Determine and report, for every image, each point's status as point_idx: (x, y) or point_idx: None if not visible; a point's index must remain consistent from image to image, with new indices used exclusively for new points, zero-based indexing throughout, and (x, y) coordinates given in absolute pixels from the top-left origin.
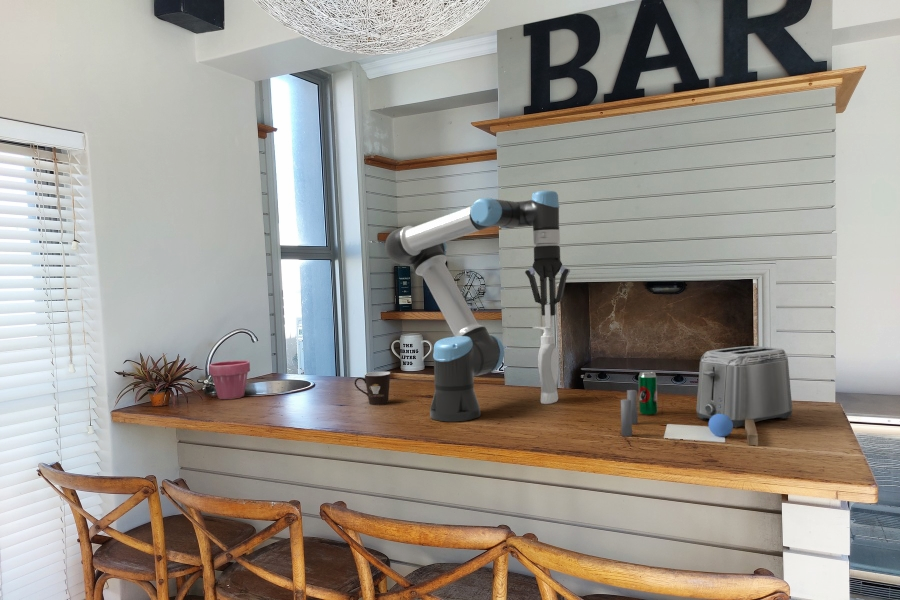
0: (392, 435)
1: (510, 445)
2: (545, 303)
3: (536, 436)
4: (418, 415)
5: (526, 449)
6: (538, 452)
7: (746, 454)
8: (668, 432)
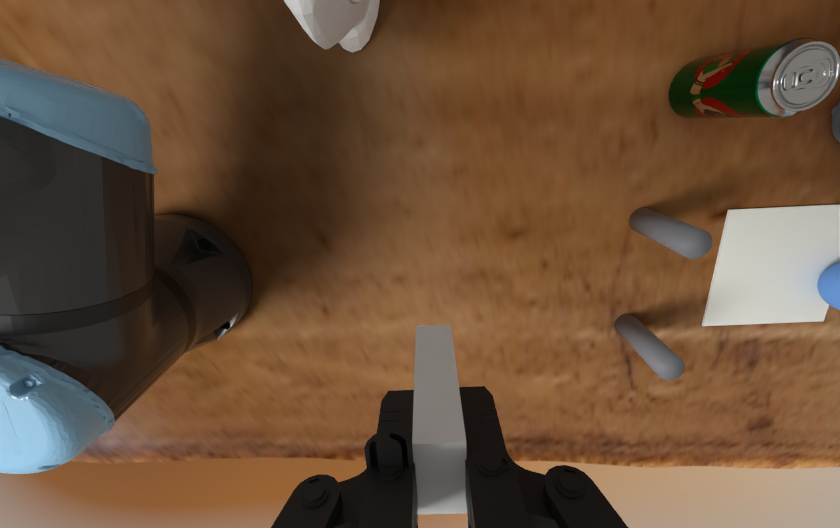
0: (175, 446)
1: None
2: (417, 509)
3: None
4: None
5: None
6: None
7: (835, 378)
8: (719, 285)
